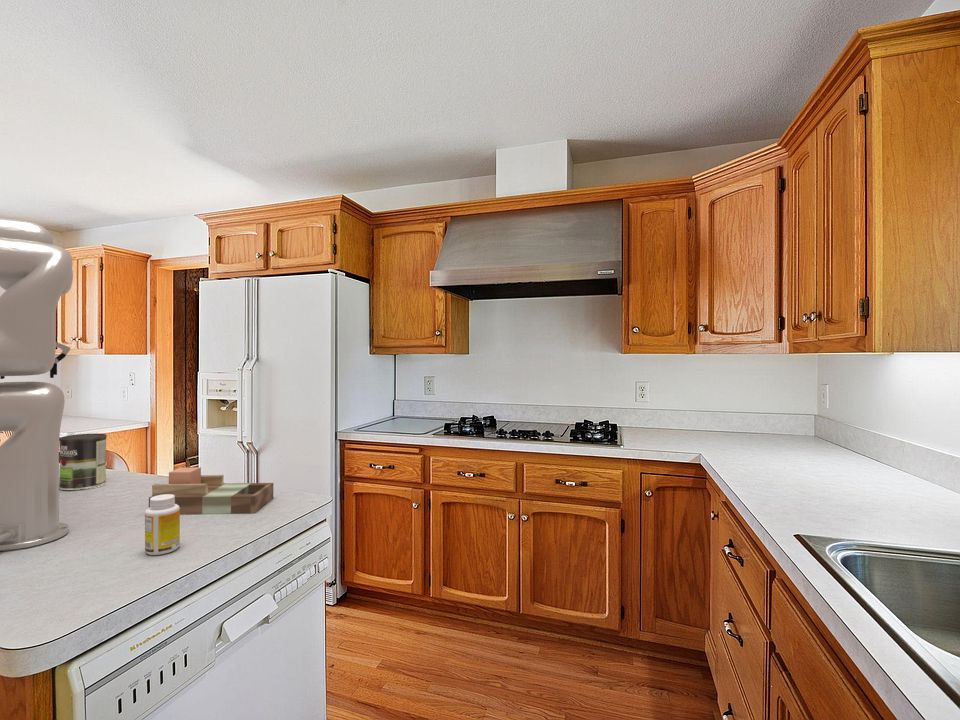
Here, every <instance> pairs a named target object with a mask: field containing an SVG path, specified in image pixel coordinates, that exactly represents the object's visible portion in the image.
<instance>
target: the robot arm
mask: <svg viewBox="0 0 960 720" xmlns="http://www.w3.org/2000/svg"><path fill="white" fill-rule="evenodd" d="M73 278H74V272H73V257H72V254H71V253H70V252H69V250H67V249H66V248H63V247H62V246H59V245H57V244H56V245H55V244H54V239H53V236H52V235H51V233H50V231H49V230H47V228H45V226H42V225H41V224H38V223H36V222H33V221H30V220H24V219H18V218H13V217H12V218H10V217H4V216H0V288H2V289H3V290H4V292H3V293H1V295H0V380H4V379H5V378H6V377H25V376H28V377H29V376H36V375H37V376H38V375H42V374H46V373H48V372H49V378H51V379H53V378H54V376H55V375H56V376H57V375H58V363H59V362H60V361H62V360H63V359H64V358H65V357H66V356H67V355H68V354H69V352H70V350H71V347H70V346H68V345H65V344H62V343H60V342H57V340H56V339H57V334H56V333H57V332H56V331H57V329H56V327H57V323H56V322H57V315H56V314H57V308H58V307H57V306H58V303H59V300H60V298H61V297H62V295H66V294H68V293H69V291H71V289H72V285H73ZM56 348H58V349H61V350H62V351H61V352H60V353H59V355H57V356H56V351H57V349H56ZM65 403H66V401H65V395H64V392H63V390H62V388H60V387H59V386H58V385H55V384H53V383H49V382H45V381H4V382H0V432H12V435H11V436H10V437H8V438H7V439H6V440H5V441H4V442H3V443H2V444H1V445H0V552H1V551H2V552H3V551H14V550H21V549H25V548H30V547H31V548H32V547H35V546H39V545H43V544H46V543H50V542H52V541H56V540H58V539H60V538H62V537H64V536H66V535H67V534H68V533H69V530H70V528H69V527H70V526H69V524H67V523H65V522H60V489H59V488H60V441H59V438H60V434H61V425H62V419H63V414H64V408H65Z"/></svg>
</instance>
